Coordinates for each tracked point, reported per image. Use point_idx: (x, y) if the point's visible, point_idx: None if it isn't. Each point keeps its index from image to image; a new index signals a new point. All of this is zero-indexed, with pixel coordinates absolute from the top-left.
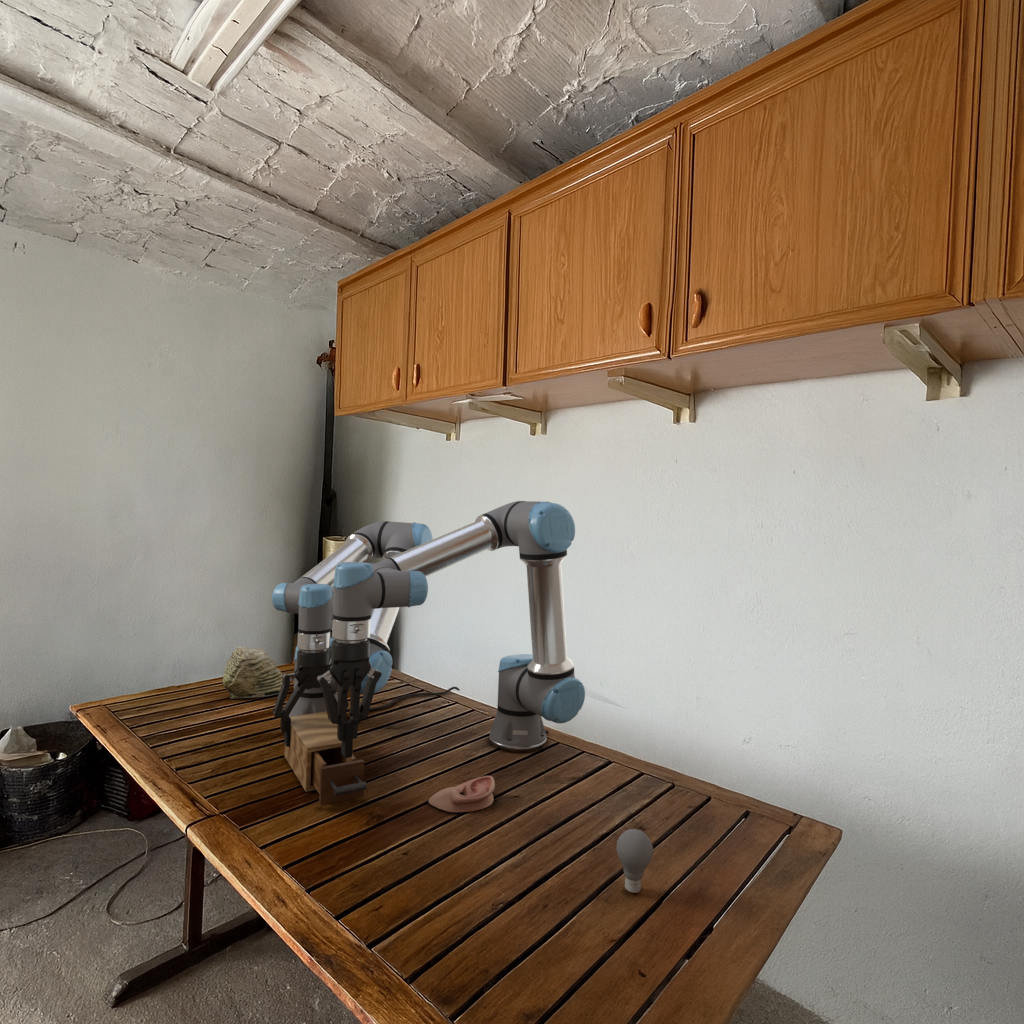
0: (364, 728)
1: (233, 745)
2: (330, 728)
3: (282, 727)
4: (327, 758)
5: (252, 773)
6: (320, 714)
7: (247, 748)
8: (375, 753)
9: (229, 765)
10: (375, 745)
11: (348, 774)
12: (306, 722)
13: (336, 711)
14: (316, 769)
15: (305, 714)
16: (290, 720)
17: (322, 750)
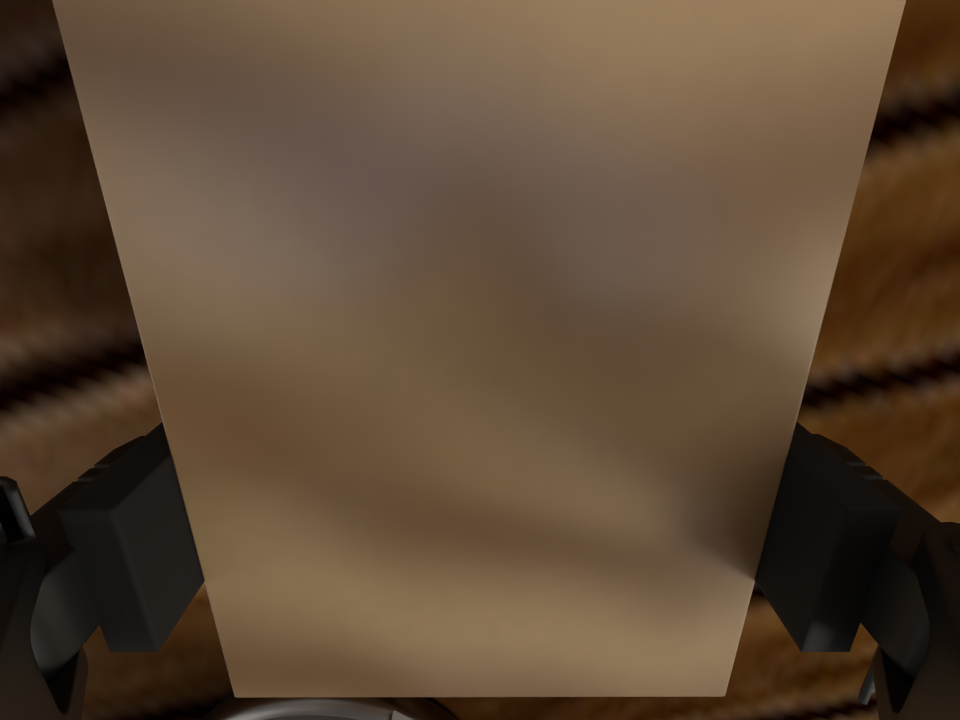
0: None
1: (797, 669)
2: (260, 1)
3: (860, 467)
4: None
5: (885, 269)
6: (324, 641)
7: (752, 615)
8: (5, 234)
9: (937, 445)
10: (4, 373)
11: None
12: (566, 457)
13: (60, 549)
14: None
15: (493, 695)
16: (838, 495)
17: None
